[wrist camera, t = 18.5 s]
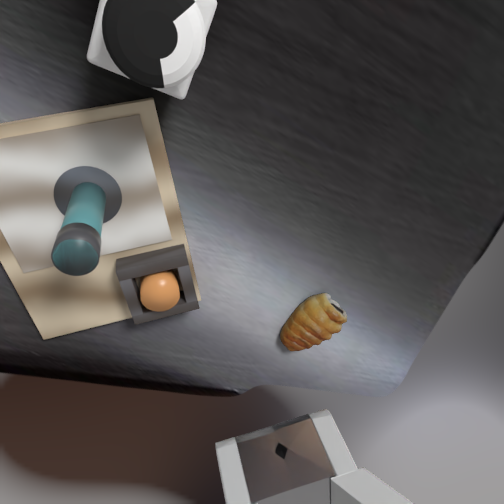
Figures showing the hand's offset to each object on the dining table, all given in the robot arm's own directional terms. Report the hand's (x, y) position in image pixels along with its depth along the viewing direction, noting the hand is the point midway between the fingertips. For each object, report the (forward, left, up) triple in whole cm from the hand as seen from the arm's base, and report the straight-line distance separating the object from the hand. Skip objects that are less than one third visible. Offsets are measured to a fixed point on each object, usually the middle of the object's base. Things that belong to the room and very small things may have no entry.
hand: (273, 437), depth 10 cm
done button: (+16, -5, -32) cm, 36 cm away
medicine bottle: (-8, 0, -33) cm, 34 cm away
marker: (+5, -9, -32) cm, 33 cm away
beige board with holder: (+9, -10, -33) cm, 36 cm away
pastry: (+29, +13, -34) cm, 46 cm away
